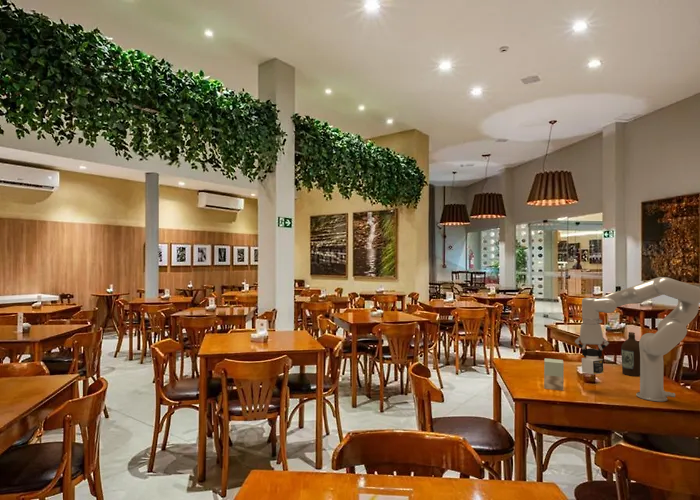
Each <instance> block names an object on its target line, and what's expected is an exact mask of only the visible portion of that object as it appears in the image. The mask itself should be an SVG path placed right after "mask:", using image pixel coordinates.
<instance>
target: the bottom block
mask: <svg viewBox="0 0 700 500" xmlns="http://www.w3.org/2000/svg"><path fill="white" fill-rule="evenodd" d="M543 377H544V378H543V381H544V382H543V385H544V387H543V389H546V390H554V391H563V392H564V388H565V386H564V382H565V381H564V380H565V379H564V378H565V377H564V376H563V377H558V376H548V375H544V374H543Z"/></svg>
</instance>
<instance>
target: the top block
mask: <svg viewBox="0 0 700 500" xmlns="http://www.w3.org/2000/svg"><path fill="white" fill-rule="evenodd" d="M543 362H544V366H543V367H544V368H543V371H544V372H543V376H544V375H548V376H558V377H564V374H565V373H564V370H565V369H564V366H565V363H564V360H563V359H557V358H556V359H555V358H544V360H543Z"/></svg>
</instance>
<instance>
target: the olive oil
mask: <svg viewBox="0 0 700 500" xmlns="http://www.w3.org/2000/svg"><path fill="white" fill-rule="evenodd" d="M635 334H636V333H635V332H631V331H630V332H628V338H627V339H626V340H625V341H624V342H623V343H622V344H621V347H620V348H621V349H620V350H621V368H622V369H621V370H622V372H621V373H622V374H623V375H624V376H629V377H640V348H639V341H637V340H636V335H635Z"/></svg>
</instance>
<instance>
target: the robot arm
mask: <svg viewBox="0 0 700 500" xmlns="http://www.w3.org/2000/svg"><path fill="white" fill-rule="evenodd" d="M661 296H667V297H668V298H669V297H670V298H672V299H677V304H676V307H675V308H674V309H672V311H670V313H669V314H668V315H666V316H665V317H664V318H662V319H661V320H660V321H659V322H658V324H657V331H656V332H655V333H654V332H647V333H644V334H643V335H641V337H640V338H639V341H638V343H639V348H640V376H639V391H638V392H636V397H637V398H640V399H642V400H646V401H651V402H661V403H663V402H666V401H668V398H667V397H670V398H676V393H675V392H670V391H665V389H664V355H666V354H668V353H669V352H671V350H673V349H674V348H675V347H676V346H677V345H678V344H680V343H681V342H682V341H683V340H685V339H684V338H685V337H686V336H687V333H688V329H687V326H688V325H689V324H690V323H691V322H692V321H693V320H694V319H695V317H696V316H697V314H698V313H699V307H700V287H699V286H697V285H693V284H691V283H687V282H684V281H679V280H677V279H673V278H671V277H668V276H667V277H666V276H665V277H664V276H659V277H655V278H652V279H650V280H647V281H645V282H641V283H639V284H635V285H632V286H630V287H627V288H625V289H621V290H618V291H615V292H612V293H609V294H606V295H604V296H602V297H599V298H596V297H584V298H582V300H581V312H582V313H581V315H582V317H581V319H582V323H581V324H580V330H579V336H578V338H576V339H575V340H574V343H575V344H576V345H577V346H578V347H580V349H582V350H581V352H582V356H583V358H586V346H587V345H597V347H598V349H597V350H598V351H599V358H600V359H602V357H603V350H604V349H605V348H606V347H607V346H608V345H609V344H610V342H609V341H608V340H607V339H605V338H604V336H603V330H602V325H601V324H600V323H603V319H600V313H607V314H611V313H614V312H615V311H616V309H617V308H618V307H622V306H625V305H630V304H632V305H633V304H640V303H643V302H646V301H649V300H651V299H654V298H658V297H661Z"/></svg>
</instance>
